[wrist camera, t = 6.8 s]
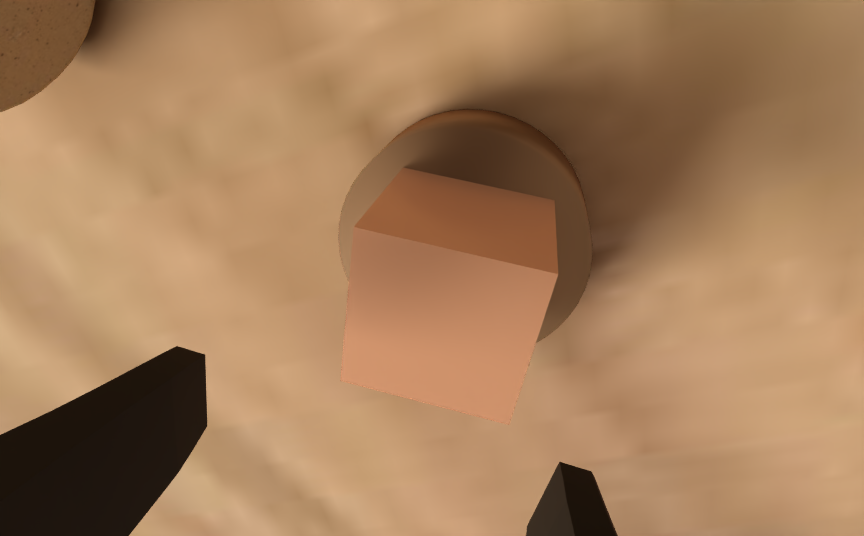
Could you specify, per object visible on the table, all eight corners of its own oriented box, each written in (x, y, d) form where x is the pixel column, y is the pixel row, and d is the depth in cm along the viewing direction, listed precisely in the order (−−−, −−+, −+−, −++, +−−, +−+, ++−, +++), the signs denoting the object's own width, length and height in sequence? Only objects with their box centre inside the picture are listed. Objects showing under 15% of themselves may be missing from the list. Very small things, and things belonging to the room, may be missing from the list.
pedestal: (620, 139, 16) (635, 167, 14) (545, 334, 20) (545, 384, 18) (382, 82, 17) (352, 98, 14) (354, 282, 21) (328, 323, 18)
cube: (554, 200, 14) (558, 274, 11) (517, 325, 17) (509, 424, 13) (403, 167, 15) (353, 227, 11) (386, 293, 17) (340, 380, 13)
